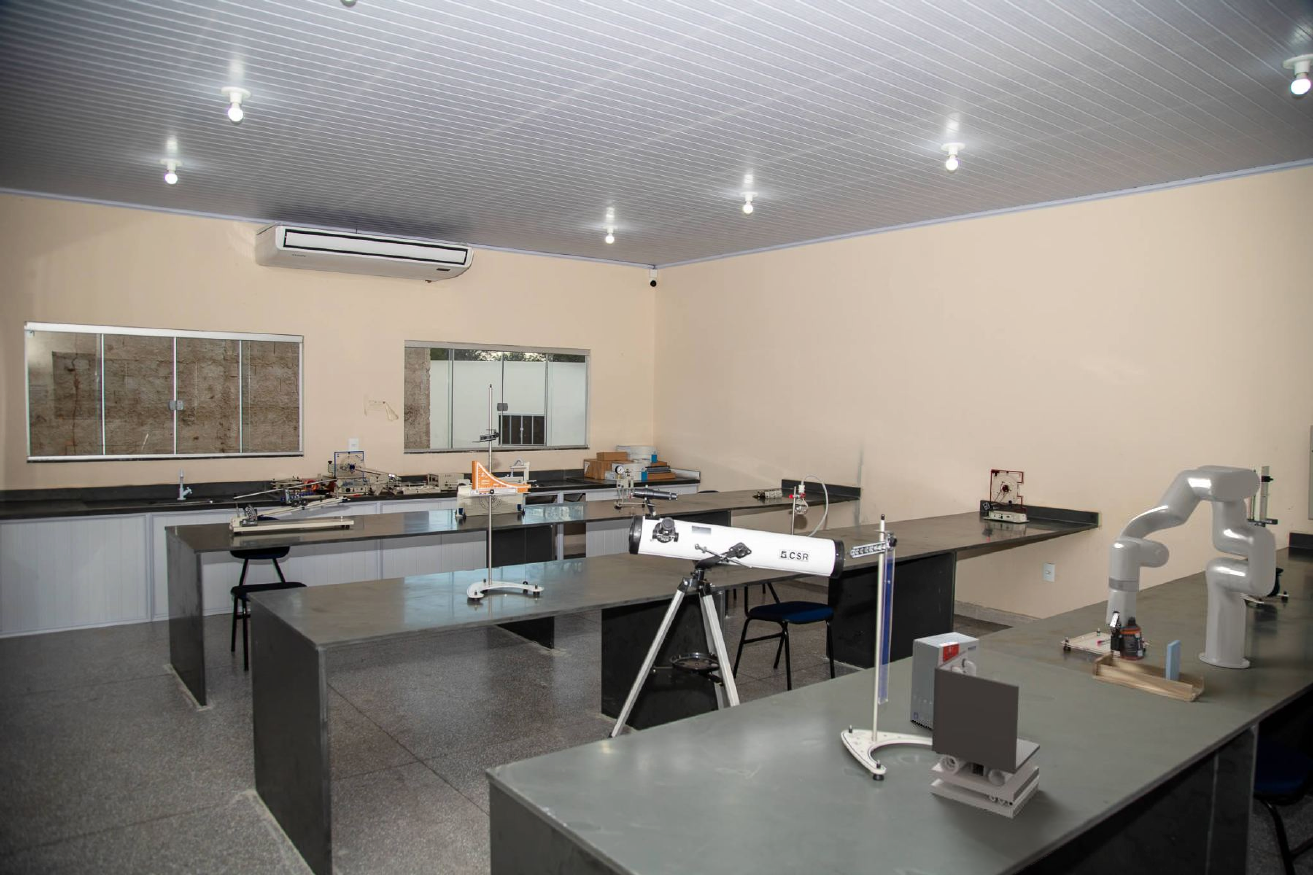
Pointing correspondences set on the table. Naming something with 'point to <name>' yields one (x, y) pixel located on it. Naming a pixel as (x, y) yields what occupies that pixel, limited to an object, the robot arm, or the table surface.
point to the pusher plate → (1173, 661)
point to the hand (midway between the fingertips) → (1120, 647)
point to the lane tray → (1146, 678)
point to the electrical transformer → (979, 740)
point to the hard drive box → (923, 667)
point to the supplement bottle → (1132, 641)
